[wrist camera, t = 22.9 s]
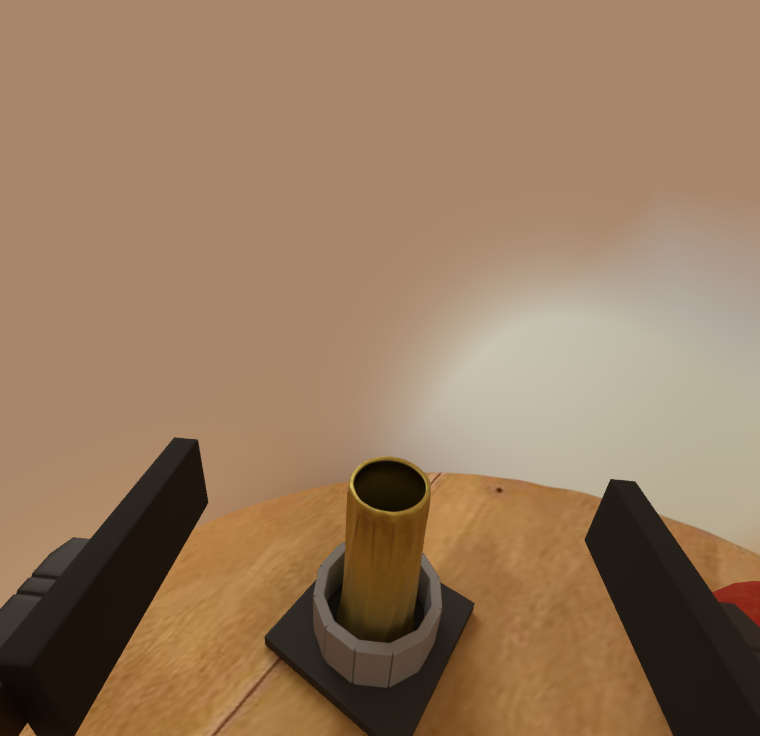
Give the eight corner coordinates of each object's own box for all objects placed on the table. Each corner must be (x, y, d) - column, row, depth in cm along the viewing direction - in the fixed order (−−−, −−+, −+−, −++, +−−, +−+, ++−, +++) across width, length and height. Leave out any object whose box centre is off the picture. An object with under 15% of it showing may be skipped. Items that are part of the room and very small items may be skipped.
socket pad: (264, 644, 31) (260, 603, 29) (358, 539, 41) (360, 501, 38) (399, 762, 26) (407, 723, 24) (472, 610, 35) (483, 571, 33)
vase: (326, 649, 31) (329, 508, 24) (348, 576, 36) (355, 444, 29) (407, 670, 30) (434, 530, 23) (418, 592, 35) (441, 460, 28)
